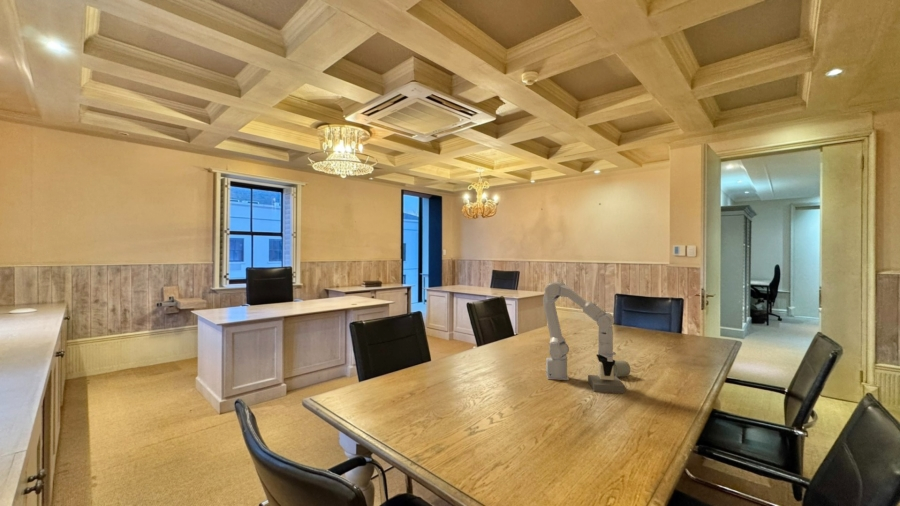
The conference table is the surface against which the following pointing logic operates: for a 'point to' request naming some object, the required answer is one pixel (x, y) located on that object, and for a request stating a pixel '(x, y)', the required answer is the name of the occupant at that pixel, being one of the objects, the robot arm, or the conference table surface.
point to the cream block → (601, 372)
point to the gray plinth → (606, 384)
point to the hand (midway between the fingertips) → (605, 373)
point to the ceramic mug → (621, 368)
